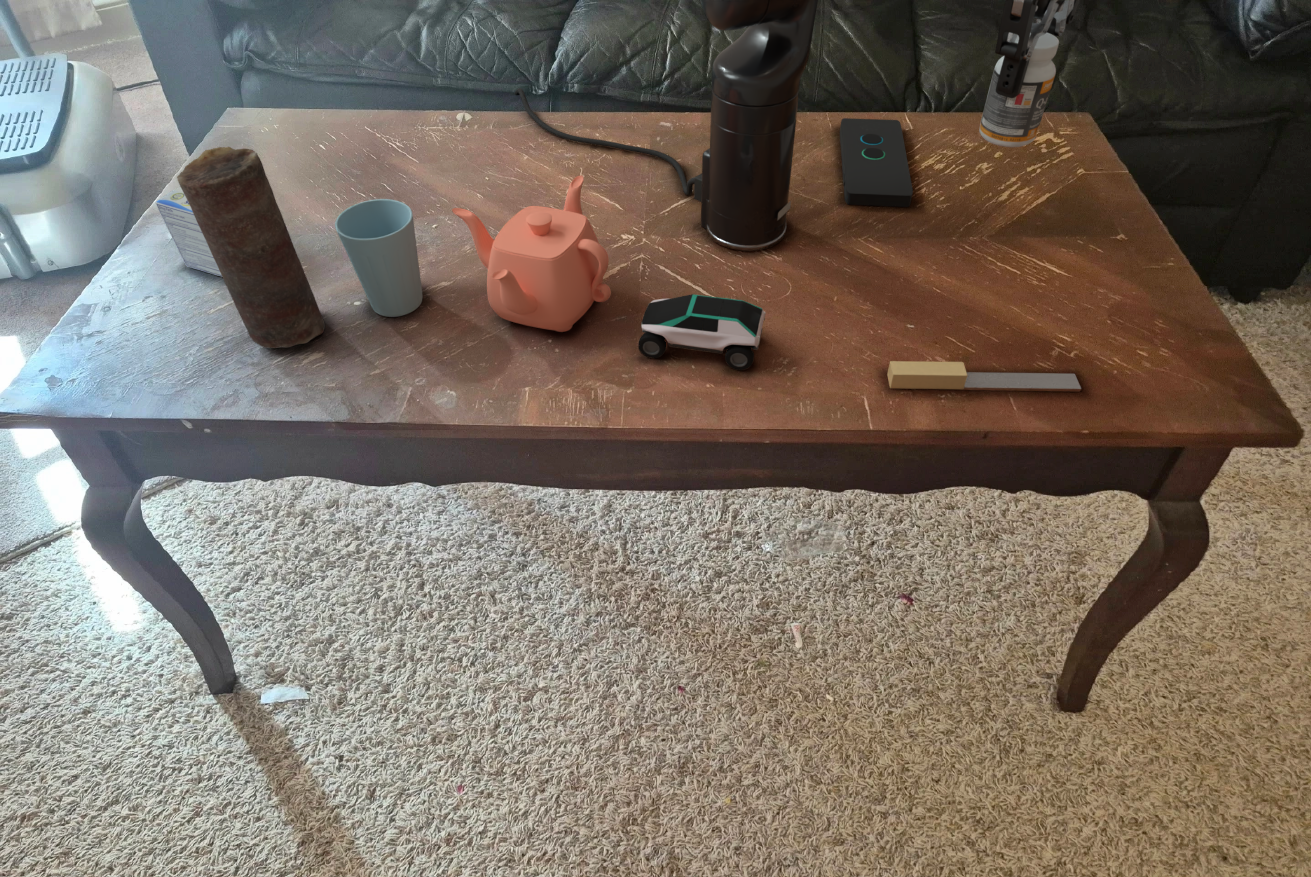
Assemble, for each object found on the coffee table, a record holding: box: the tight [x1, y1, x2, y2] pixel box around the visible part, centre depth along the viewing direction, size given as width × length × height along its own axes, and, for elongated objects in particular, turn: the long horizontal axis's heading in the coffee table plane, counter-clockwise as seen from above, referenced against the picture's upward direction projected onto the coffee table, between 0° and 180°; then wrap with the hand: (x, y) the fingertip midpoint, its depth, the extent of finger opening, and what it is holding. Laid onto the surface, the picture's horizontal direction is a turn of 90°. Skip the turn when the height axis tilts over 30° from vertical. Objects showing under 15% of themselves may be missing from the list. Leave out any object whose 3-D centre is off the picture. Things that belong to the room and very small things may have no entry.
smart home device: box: [839, 117, 914, 208], centre depth 114 cm, size 8×2×20 cm
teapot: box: [451, 175, 612, 333], centre depth 91 cm, size 14×14×11 cm
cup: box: [334, 198, 423, 318], centre depth 92 cm, size 8×8×10 cm
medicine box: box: [155, 185, 223, 278], centre depth 98 cm, size 8×4×9 cm, turn 65°
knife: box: [886, 360, 1082, 393], centre depth 84 cm, size 18×2×2 cm, turn 88°
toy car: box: [637, 293, 766, 371], centre depth 88 cm, size 6×12×5 cm, turn 77°
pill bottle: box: [978, 32, 1060, 148], centre depth 87 cm, size 6×6×10 cm
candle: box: [176, 146, 326, 349], centre depth 85 cm, size 8×7×20 cm
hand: (1021, 83), depth 87 cm, fingers closed on pill bottle, 5 cm apart
